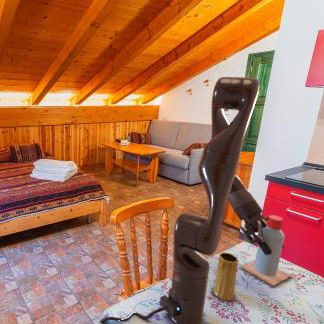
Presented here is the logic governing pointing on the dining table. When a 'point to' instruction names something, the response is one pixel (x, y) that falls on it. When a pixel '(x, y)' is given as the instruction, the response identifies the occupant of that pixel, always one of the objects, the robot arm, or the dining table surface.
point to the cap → (274, 222)
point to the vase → (226, 276)
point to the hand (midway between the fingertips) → (275, 251)
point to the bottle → (269, 262)
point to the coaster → (269, 280)
